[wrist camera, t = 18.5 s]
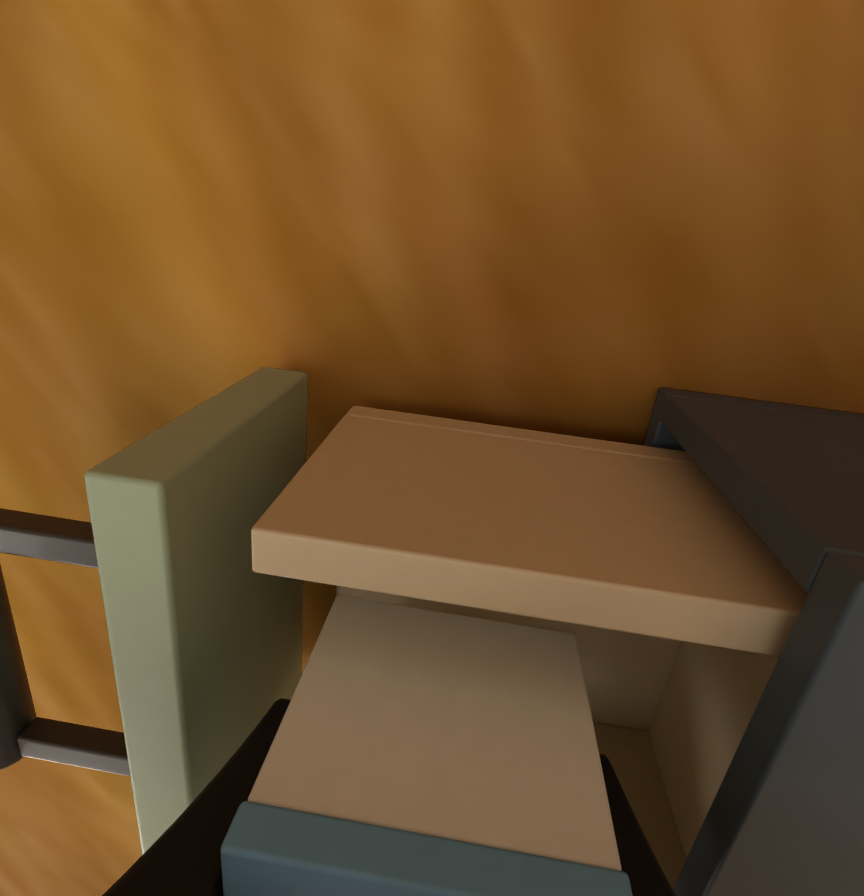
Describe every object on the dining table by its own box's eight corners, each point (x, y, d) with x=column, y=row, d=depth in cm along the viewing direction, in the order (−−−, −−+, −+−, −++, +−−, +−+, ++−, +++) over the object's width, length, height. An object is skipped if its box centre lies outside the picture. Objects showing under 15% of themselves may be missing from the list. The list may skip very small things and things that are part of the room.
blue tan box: (325, 761, 12) (232, 1054, 8) (333, 590, 10) (218, 850, 6) (534, 798, 12) (556, 1124, 7) (580, 631, 10) (642, 931, 6)
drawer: (122, 647, 18) (-67, 858, 12) (78, 340, 14) (-236, 424, 8) (653, 738, 17) (740, 1019, 11) (766, 434, 13) (1000, 611, 7)
